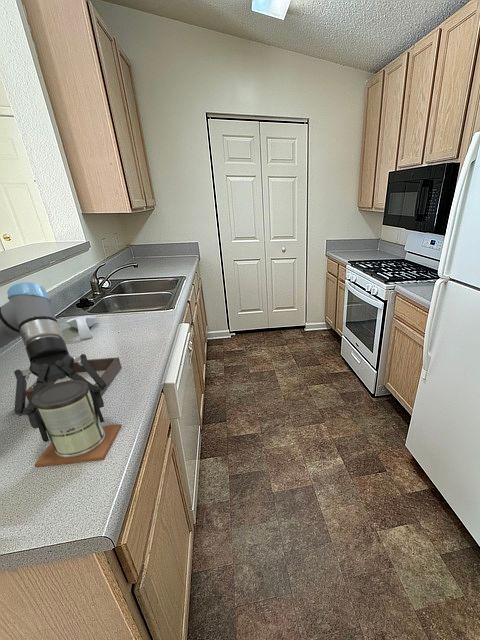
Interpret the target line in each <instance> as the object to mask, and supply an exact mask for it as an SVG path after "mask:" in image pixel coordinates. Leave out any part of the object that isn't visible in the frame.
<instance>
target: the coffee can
mask: <svg viewBox="0 0 480 640" xmlns="http://www.w3.org/2000/svg"><path fill="white" fill-rule="evenodd" d="M32 403H33V405H34V406H35V407H36V410H37V412H38V414H39V416H40V418H41V421H42V423H43V425H44V427H45V429H46V432H47V435H48V438H49V441H50V444H51V443H52V445H53V447H54V449H55V452H56V454H57V455H59V456H61V457H74V456H79V455H82V454H85V453H87V452H89V451H91V450H93V449H94V448H96V447H97V446H98V445H100V444H101V443H102V441H103V440H104V438H105V432H104V430H103V428H102V426H103V425H102V423H101V422H100V420H99V417H98V414H97V411H96V409H95V406H94V403H93V400H92V397H91V394H90V391H89V386H88V384H87V383H86V382H85V381H81V380H72V379H70V380H63V381H59V382H55V383H54V384H52V385H50V386H47V387H45V388H43V389H42V390H40V391H38V392H37V393H36V394H35V395H34V396H33V398H32Z"/></svg>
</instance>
